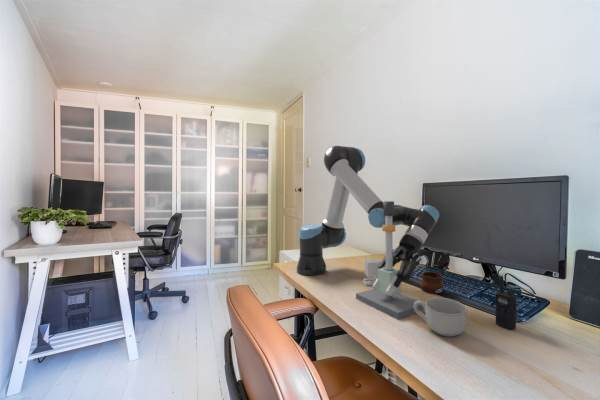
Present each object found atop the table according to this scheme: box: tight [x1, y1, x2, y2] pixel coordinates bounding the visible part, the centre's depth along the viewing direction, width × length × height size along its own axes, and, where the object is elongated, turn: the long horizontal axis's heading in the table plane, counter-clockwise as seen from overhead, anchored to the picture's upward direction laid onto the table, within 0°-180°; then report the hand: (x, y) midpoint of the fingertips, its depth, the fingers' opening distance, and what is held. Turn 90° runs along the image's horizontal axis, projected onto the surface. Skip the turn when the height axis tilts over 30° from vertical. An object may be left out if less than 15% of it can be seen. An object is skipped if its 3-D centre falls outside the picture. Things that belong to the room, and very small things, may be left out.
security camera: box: [362, 258, 382, 286], centre depth 125 cm, size 6×7×10 cm
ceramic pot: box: [419, 271, 445, 295], centre depth 115 cm, size 18×18×7 cm
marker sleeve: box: [378, 267, 402, 296], centre depth 102 cm, size 6×6×8 cm
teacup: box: [413, 296, 468, 338], centre depth 83 cm, size 14×11×8 cm
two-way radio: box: [494, 275, 518, 330], centre depth 84 cm, size 6×4×15 cm
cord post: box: [355, 200, 425, 320], centre depth 102 cm, size 20×14×37 cm
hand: (381, 290), depth 100 cm, fingers closed on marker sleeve, 6 cm apart
